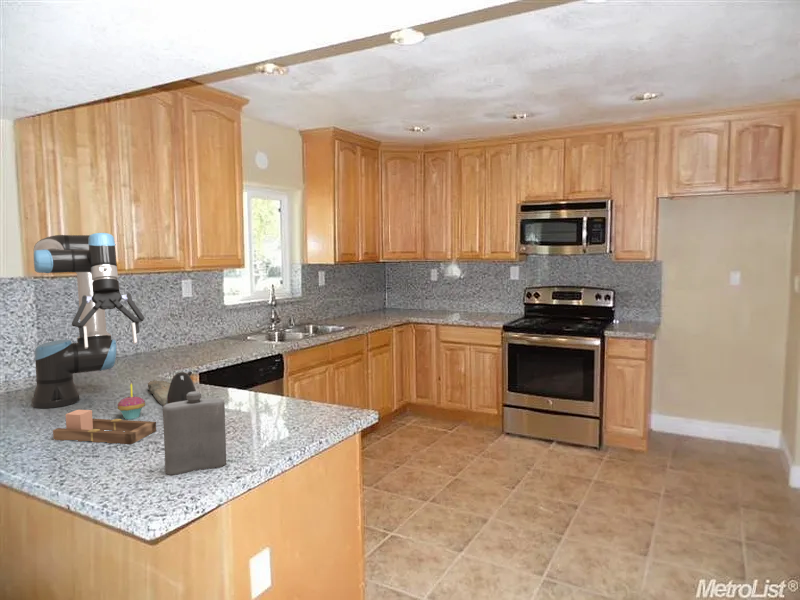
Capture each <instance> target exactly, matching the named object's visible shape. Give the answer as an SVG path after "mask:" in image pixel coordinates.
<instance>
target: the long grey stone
mask: <svg viewBox="0 0 800 600" xmlns="http://www.w3.org/2000/svg"><path fill="white" fill-rule="evenodd" d="M170 383H171V382H169V381H165V380H150V381H148V383H147V388H148V391H149V392H150V394H151V395H152V394H153V397H154V399H155V400H156V401H157V402H158V403H159V404H160V405H161V406H162V407H163V406H164V405H166V403H167V395H168V390H169V386H170Z"/></svg>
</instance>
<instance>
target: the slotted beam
mask: <svg viewBox="0 0 800 600" xmlns="http://www.w3.org/2000/svg"><path fill="white" fill-rule="evenodd" d="M92 420H93V429H92V430H85V429H66V428H63V427H58V428H55V429H53V430H52V436H53V438H52V439H55V440H54V441H64V440H78V441H77V442H82V441H92V442H91V443H100V442H107V443H106V444H117V443H120V444H121V445H133V444H135V443H137V442H138V441H141V440H143V439H144V438H147V437H148V436H150V435H151V434H153V433H155V432H157V421H148V420H147V421H146V420H132V419H121V418H113V419H111V418H110V419H109V418H108V419H107V418H92ZM104 430H112V431H104ZM123 431H125V432H123ZM140 439H141V440H140Z"/></svg>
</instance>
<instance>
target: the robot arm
mask: <svg viewBox="0 0 800 600" xmlns="http://www.w3.org/2000/svg"><path fill="white" fill-rule="evenodd" d="M115 242H116V241H115V237H114V235H112V234H111V233H107V232H96V233H92V234H89V235H88V234H84V235H83V234H79V235H77V234H75V235H74V234H73V235H72V234H70V235H69V234H56V235H51V236H47V237H44V238H42V239H40V240H39V241H37V242H36V243H35V245H34V246H33V266H34V267H33V268H34V271H35V272H36V273H38V274H41V273H42V274H44V273H45V274H56V273H57V274H58V273H63V274H64V273H76V279H77V294H78V307H79V308H78V309H77V310H76V311H77V312H76V314H75V316H74V317H73V319H72V322H71V326H72V327H75V328H78V332H79V335H78V337H77V338H76V340H77V342H74V343H73V341H72V340H71V339H58V340H53V341H47V342H44V343H42V344H41V343H40V344H39V345H37V346H36V347H35V349H34V361H35V378H36V387H35V389H34V393H33V397H32V398H31V406H32V408H35V409H51V408H52V409H54V408H60V407H66V406H69V405H73V404H75V403H79V402H80V399H81V397H80V393H79V392H78V389H77V386H76V384H75V382H74V374H81V373H91V372H98V371H99V372H100V371H101V372H102V371H104V370H105V371H106V370H110V369H111V370H112V368H113V367H114V366H115V365H116V357H117V340H116V339H114V338H113V339H112V335H111V334H110V333H109V332H108V331H107V322H106V321H107V320H106V311H105V310H114V309H116V310H118V311H119V312H121V313H122V314H123V315H124V316H125V317H126V318H128V319H129V321H131V322H132V323H131V324H130V325H131V331H132V332H131V334H132V342H133V343H132V344H133V345H136V344H137V343H138V339H137V334H139V333H140V323H142V322H144V320H145V316H144V315H143V313H142V312H141V311H140V309H139V307H138V306H137V305H136V304H135V301H134V300H133V298H132V294H131V293H130V292H129V293H126V294H121V292H120V283H119V282H120V281H119V274H118V264H117V253H116V243H115ZM122 300H123V301H124V302H127V304H128V306H129V307H130V309H131V310H132V312H133V313H134V314H135V315H134V314H133V313H132V312H131V311H129V309H127V308H126V307H125V306H124V305H123V304H122V303H121V301H122ZM79 320H80V322H79Z"/></svg>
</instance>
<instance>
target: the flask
mask: <svg viewBox="0 0 800 600" xmlns="http://www.w3.org/2000/svg"><path fill="white" fill-rule="evenodd" d="M186 397H187V400H186V401H179V402H173V403H169V404H166V405H164V406H163V405H162V419H163V421H162V422H163V441H164V442H163V443H164V445H163V447H164V467H165V469H164V470H165V473H166V474H167V475H169V476H176V475H175V474H177V475H181V474H184V472H185V473H188V472H189V471H190V472H194V471H193V470H195V471H200V470H199V469H201V470H207V469H206V468H210V469H216V468H215V467H219V468H222V467H224V466H225V465H226V464H227V446H226V445H227V443H226V442H227V440H226V439H227V438H226V437H227V436H226V412H225V411H226V410H225V407H226V406H225V399H223V398H221V397H210V398H209V397H207V398H202V392H200V391H199V390H196V391H194V392H189V393H188V394H187V395H186ZM223 465H224V466H223ZM221 466H222V467H221ZM190 472H189V473H190ZM180 473H181V474H180Z"/></svg>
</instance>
